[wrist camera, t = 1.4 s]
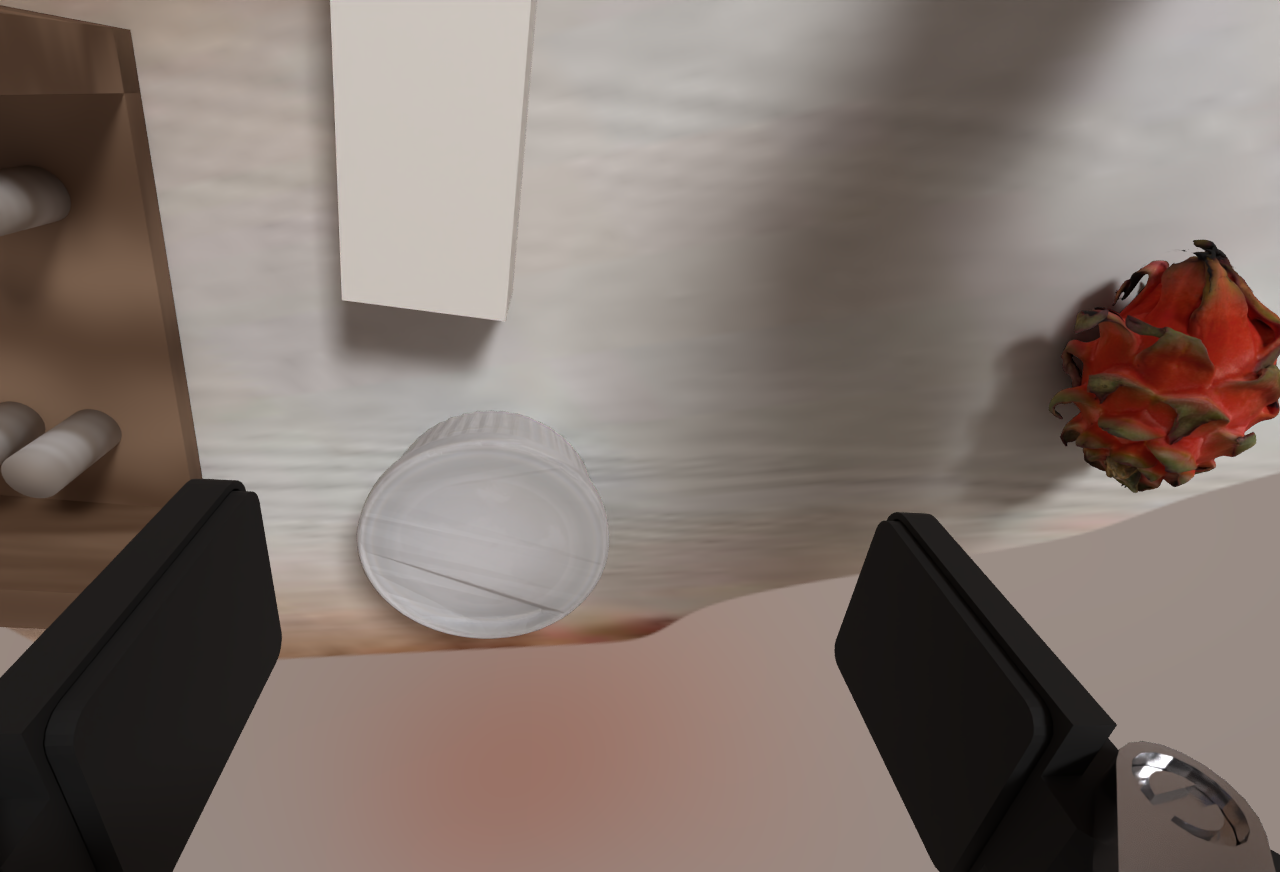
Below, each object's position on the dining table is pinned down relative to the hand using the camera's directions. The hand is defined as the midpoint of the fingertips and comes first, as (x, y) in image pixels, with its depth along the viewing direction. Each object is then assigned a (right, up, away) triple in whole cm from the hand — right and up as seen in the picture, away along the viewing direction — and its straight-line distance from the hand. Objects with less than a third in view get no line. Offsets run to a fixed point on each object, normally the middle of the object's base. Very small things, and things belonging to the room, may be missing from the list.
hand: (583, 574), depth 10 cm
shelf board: (-7, +16, +15) cm, 23 cm away
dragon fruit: (+25, +7, +24) cm, 35 cm away
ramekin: (-7, 0, +24) cm, 25 cm away
